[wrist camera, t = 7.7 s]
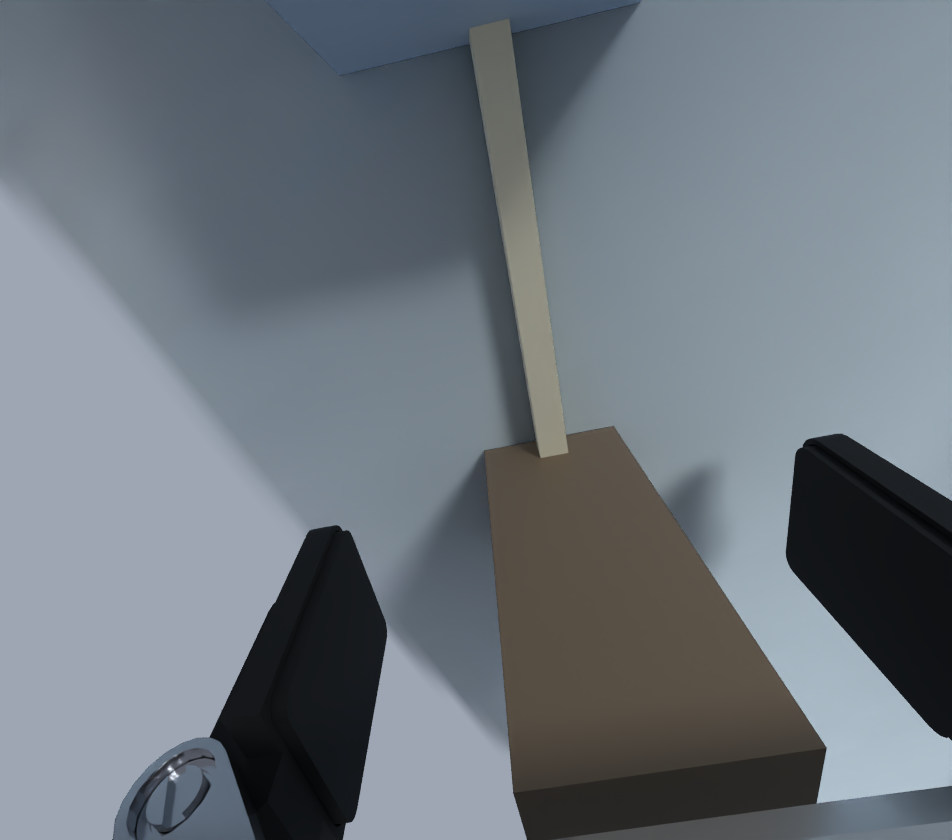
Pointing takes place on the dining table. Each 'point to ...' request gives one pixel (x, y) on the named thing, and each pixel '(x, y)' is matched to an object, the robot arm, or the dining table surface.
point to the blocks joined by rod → (589, 529)
